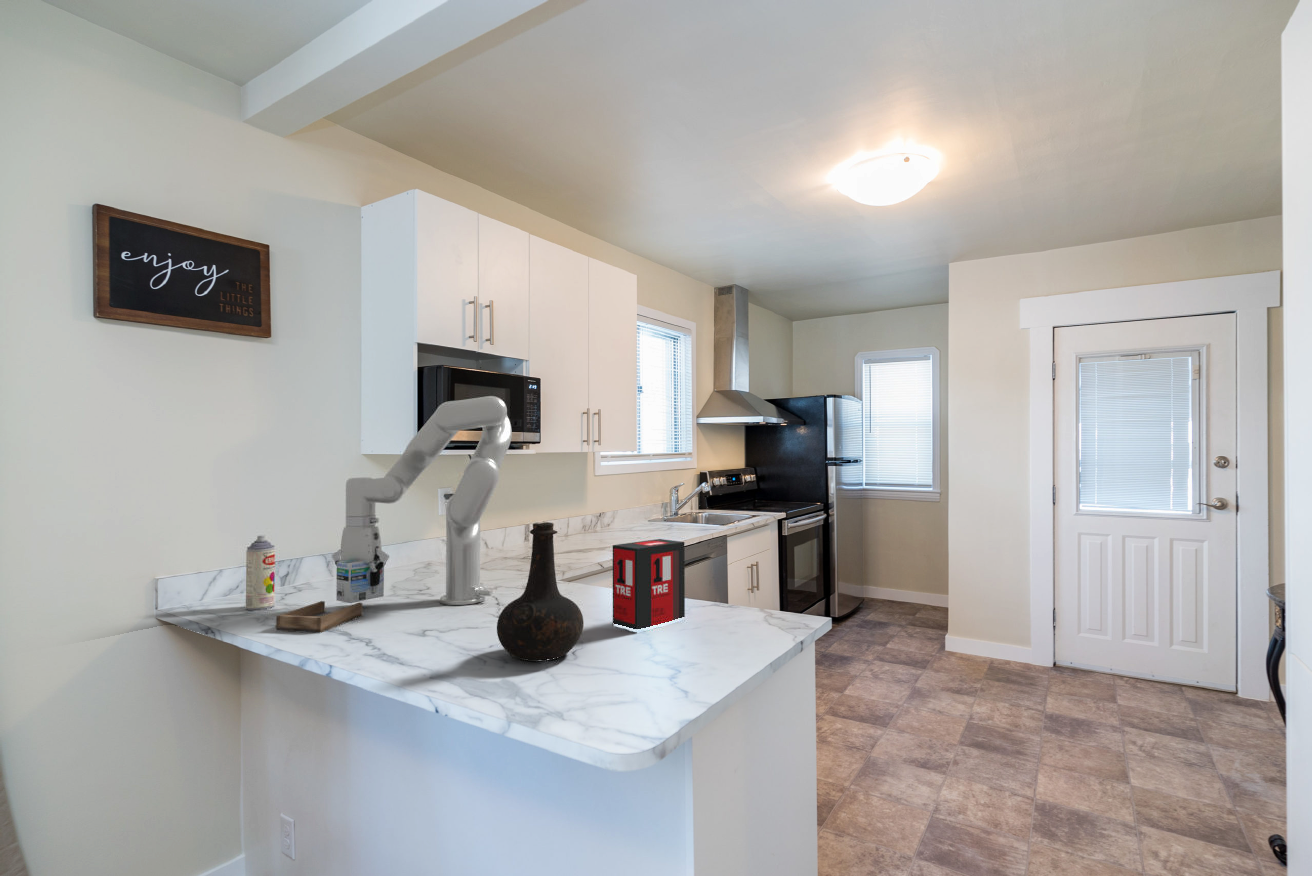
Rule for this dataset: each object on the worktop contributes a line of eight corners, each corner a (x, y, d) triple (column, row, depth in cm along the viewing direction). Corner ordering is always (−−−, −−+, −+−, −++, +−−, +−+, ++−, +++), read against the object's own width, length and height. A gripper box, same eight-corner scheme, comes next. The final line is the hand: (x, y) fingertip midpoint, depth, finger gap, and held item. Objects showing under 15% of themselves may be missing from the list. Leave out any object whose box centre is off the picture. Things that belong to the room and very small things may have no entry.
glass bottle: (479, 663, 132) (480, 525, 132) (527, 639, 148) (527, 517, 149) (556, 673, 125) (556, 528, 126) (597, 647, 142) (597, 520, 143)
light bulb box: (350, 603, 173) (350, 563, 173) (335, 601, 176) (335, 561, 176) (385, 596, 182) (385, 557, 182) (370, 593, 185) (370, 555, 186)
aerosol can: (265, 610, 177) (266, 537, 177) (240, 610, 176) (241, 537, 177) (279, 604, 184) (280, 534, 184) (254, 604, 183) (255, 534, 184)
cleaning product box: (637, 633, 153) (637, 548, 154) (612, 626, 160) (612, 545, 160) (684, 620, 165) (684, 542, 165) (660, 614, 171) (659, 538, 172)
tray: (362, 616, 170) (362, 602, 170) (320, 632, 155) (320, 617, 155) (321, 614, 172) (321, 601, 172) (276, 630, 157) (276, 615, 157)
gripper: (396, 521, 182) (396, 583, 181) (341, 520, 185) (340, 581, 184) (381, 523, 174) (380, 588, 174) (323, 523, 177) (322, 586, 177)
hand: (360, 584), depth 179 cm, fingers closed on light bulb box, 8 cm apart
